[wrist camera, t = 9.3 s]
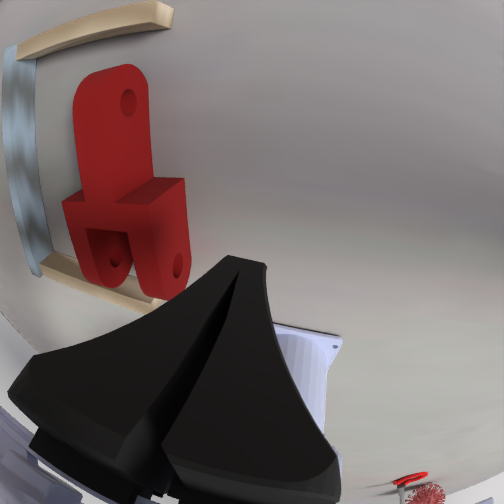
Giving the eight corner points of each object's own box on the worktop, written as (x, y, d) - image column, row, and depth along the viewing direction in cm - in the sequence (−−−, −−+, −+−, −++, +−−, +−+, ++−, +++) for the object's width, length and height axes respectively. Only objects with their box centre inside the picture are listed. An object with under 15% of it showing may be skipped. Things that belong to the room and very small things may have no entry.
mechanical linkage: (194, 274, 22) (169, 316, 18) (122, 262, 24) (90, 296, 19) (182, 60, 14) (138, 53, 10) (96, 77, 15) (46, 83, 11)
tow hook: (419, 470, 45) (390, 480, 50) (421, 510, 34) (391, 519, 38) (432, 470, 46) (405, 481, 51) (435, 508, 35) (407, 517, 40)
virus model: (396, 491, 60) (395, 526, 47) (418, 481, 52) (417, 520, 39) (429, 486, 58) (429, 518, 45) (452, 475, 50) (453, 511, 37)
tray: (164, 298, 24) (149, 320, 22) (48, 259, 26) (32, 274, 23) (174, 8, 12) (150, -2, 9) (29, 47, 13) (5, 49, 11)
